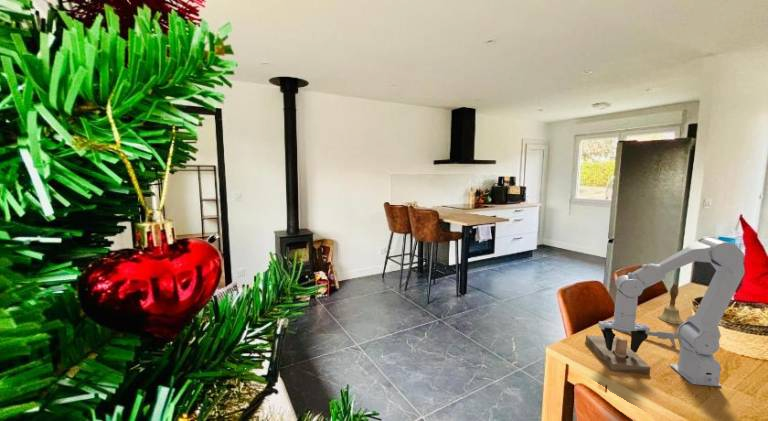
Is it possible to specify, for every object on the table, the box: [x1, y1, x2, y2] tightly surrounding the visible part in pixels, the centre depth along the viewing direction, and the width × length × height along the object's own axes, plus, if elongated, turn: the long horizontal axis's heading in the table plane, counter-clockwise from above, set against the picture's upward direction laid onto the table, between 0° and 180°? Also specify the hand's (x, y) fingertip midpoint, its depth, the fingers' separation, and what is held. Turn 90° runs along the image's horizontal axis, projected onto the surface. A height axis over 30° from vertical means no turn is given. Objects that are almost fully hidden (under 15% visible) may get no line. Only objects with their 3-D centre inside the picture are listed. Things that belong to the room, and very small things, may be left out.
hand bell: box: [657, 283, 685, 325], centre depth 136 cm, size 8×8×16 cm
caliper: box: [613, 329, 682, 347], centre depth 122 cm, size 20×1×6 cm, turn 49°
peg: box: [615, 336, 628, 358], centre depth 107 cm, size 3×3×8 cm
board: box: [585, 334, 651, 375], centre depth 110 cm, size 18×11×2 cm, turn 171°
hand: (621, 349), depth 107 cm, fingers open, 7 cm apart
